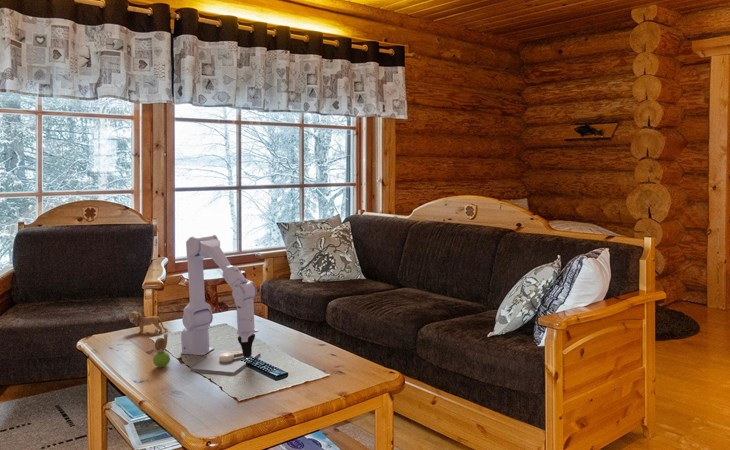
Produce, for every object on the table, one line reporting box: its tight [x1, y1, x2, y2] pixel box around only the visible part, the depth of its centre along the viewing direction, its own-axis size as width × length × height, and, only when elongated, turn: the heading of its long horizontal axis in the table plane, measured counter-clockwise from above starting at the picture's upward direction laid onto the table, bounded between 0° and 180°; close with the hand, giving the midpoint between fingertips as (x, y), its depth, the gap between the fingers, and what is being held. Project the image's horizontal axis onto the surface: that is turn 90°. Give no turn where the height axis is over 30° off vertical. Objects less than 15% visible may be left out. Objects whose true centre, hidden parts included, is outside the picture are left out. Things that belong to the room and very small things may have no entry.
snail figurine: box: [152, 329, 171, 368], centre depth 211 cm, size 5×6×12 cm
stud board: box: [190, 349, 261, 376], centre depth 214 cm, size 18×20×1 cm
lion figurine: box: [129, 310, 168, 334], centre depth 253 cm, size 15×5×9 cm, turn 98°
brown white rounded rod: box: [219, 349, 253, 362], centre depth 216 cm, size 12×5×4 cm, turn 121°
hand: (247, 356), depth 212 cm, fingers closed
